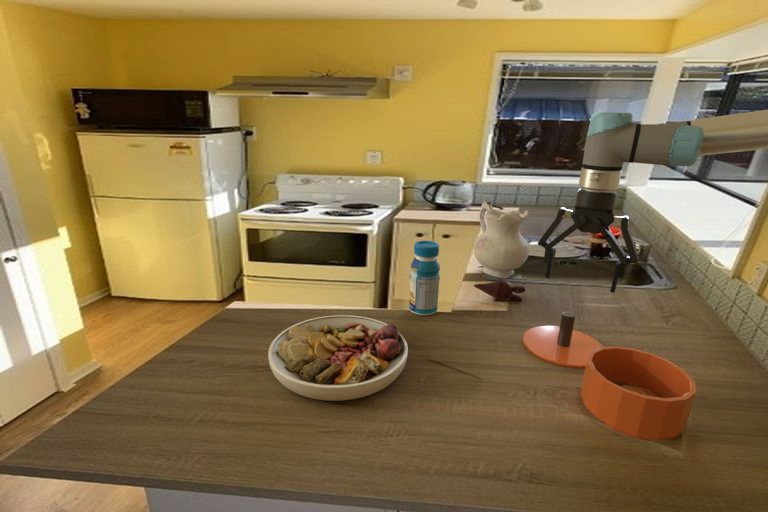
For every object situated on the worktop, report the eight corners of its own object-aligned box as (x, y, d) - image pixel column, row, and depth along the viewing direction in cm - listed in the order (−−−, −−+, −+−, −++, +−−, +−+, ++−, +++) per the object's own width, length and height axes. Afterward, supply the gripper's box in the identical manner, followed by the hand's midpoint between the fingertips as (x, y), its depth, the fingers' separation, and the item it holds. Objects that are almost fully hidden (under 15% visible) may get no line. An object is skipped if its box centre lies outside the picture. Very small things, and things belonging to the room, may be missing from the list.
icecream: (474, 283, 126) (526, 293, 122) (476, 269, 132) (526, 279, 128) (470, 301, 129) (521, 311, 126) (473, 287, 135) (521, 296, 132)
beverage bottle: (426, 319, 116) (430, 250, 110) (402, 310, 122) (405, 243, 115) (443, 309, 123) (448, 243, 116) (419, 301, 128) (423, 237, 121)
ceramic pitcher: (456, 270, 157) (458, 205, 148) (487, 256, 169) (490, 195, 160) (507, 288, 142) (513, 217, 133) (537, 271, 154) (544, 204, 145)
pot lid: (610, 344, 106) (618, 310, 103) (598, 380, 91) (606, 342, 88) (534, 323, 116) (539, 292, 113) (512, 352, 101) (517, 317, 98)
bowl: (286, 427, 75) (283, 389, 73) (259, 346, 101) (257, 316, 99) (432, 387, 87) (434, 354, 85) (375, 324, 113) (375, 297, 111)
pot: (684, 402, 85) (695, 365, 82) (683, 456, 71) (696, 414, 68) (589, 372, 94) (596, 338, 91) (572, 415, 80) (579, 376, 78)
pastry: (638, 391, 87) (642, 375, 86) (668, 413, 81) (673, 396, 79) (601, 399, 84) (605, 382, 83) (628, 422, 78) (633, 404, 77)
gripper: (532, 184, 93) (519, 275, 99) (666, 200, 80) (641, 302, 86) (541, 181, 99) (528, 266, 105) (667, 194, 86) (644, 291, 92)
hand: (579, 283), depth 96 cm, fingers open, 13 cm apart
